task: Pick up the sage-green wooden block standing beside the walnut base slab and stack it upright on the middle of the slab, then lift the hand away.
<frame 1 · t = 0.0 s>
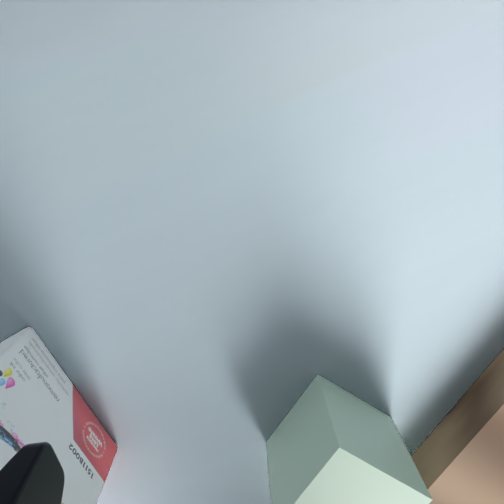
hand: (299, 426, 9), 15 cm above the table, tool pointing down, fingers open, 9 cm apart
sage block: (328, 429, 27), on the table
ink cartridge box: (43, 403, 26), on the table
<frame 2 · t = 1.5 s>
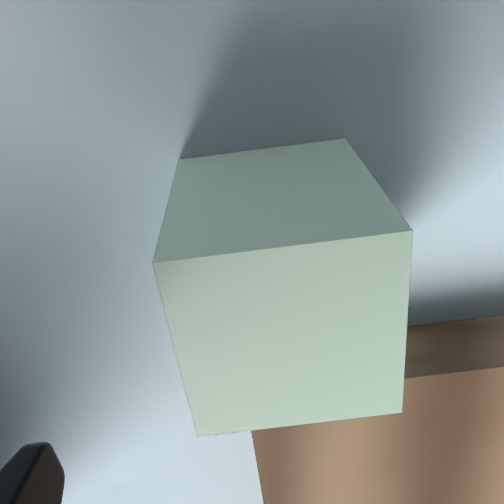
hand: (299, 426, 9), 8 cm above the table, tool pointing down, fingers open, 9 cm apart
sage block: (269, 222, 16), on the table
walnut base: (403, 431, 22), on the table
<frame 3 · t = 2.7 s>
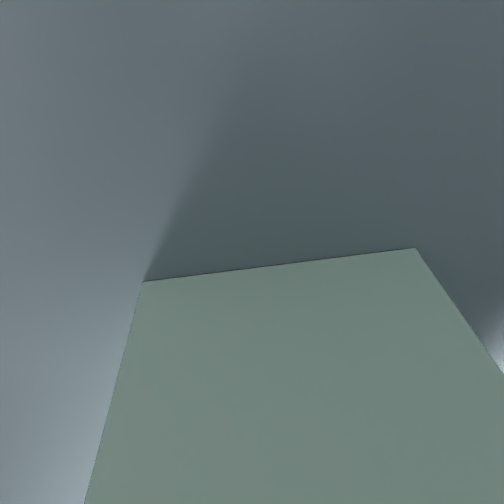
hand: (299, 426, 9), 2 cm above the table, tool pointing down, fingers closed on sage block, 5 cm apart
sage block: (288, 366, 10), on the table, touching gripper
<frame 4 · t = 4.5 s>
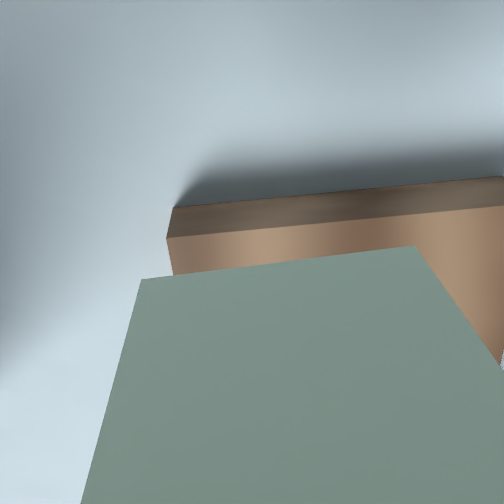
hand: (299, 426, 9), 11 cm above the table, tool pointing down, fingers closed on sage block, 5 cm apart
sage block: (288, 364, 10), point 10 cm above the table, touching gripper
walnut base: (334, 315, 23), on the table
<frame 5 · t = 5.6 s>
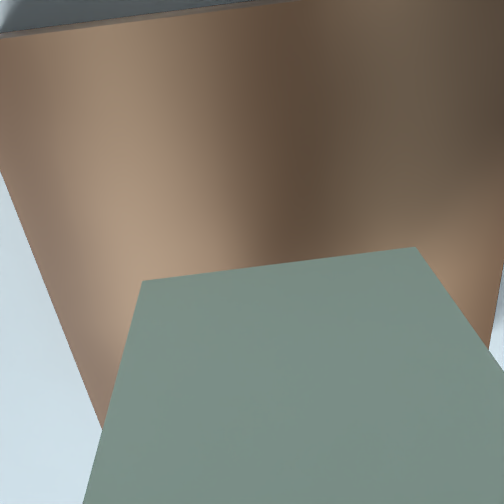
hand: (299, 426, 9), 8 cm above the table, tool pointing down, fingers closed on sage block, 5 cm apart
sage block: (288, 365, 10), point 7 cm above the table, touching gripper
walnut base: (268, 218, 16), on the table
when the fingers open (6 cm above the table, at t = 6.3 s): sage block drops 2 cm, point 2 cm above the table.
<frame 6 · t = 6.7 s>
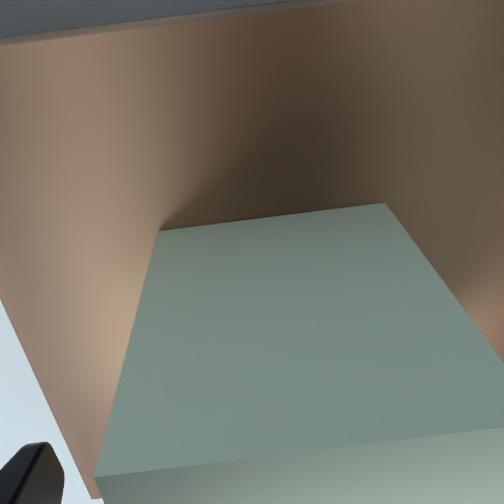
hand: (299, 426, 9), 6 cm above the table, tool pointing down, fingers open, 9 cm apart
sage block: (280, 309, 12), point 2 cm above the table
walnut base: (270, 248, 14), on the table
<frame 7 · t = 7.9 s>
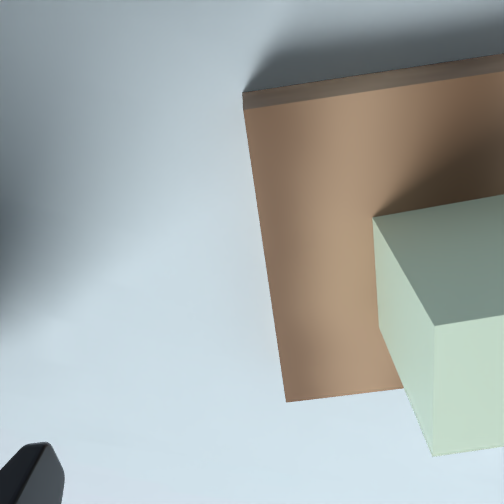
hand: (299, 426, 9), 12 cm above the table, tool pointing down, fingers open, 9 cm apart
sage block: (442, 264, 18), point 2 cm above the table, touching walnut base
walnut base: (415, 223, 20), on the table, touching sage block
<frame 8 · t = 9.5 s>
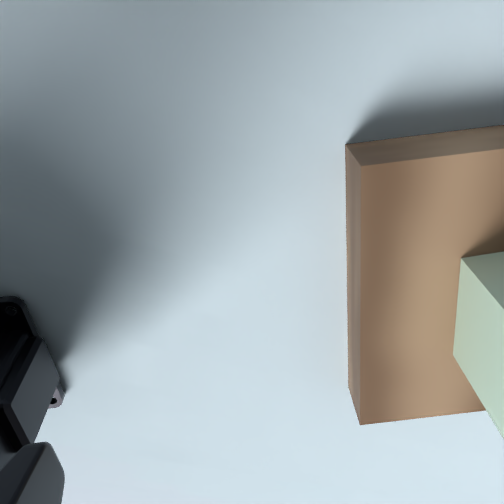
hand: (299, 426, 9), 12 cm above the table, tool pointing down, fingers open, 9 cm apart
walnut base: (484, 260, 22), on the table, touching sage block
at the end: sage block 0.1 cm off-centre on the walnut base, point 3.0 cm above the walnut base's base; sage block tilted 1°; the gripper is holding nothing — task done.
